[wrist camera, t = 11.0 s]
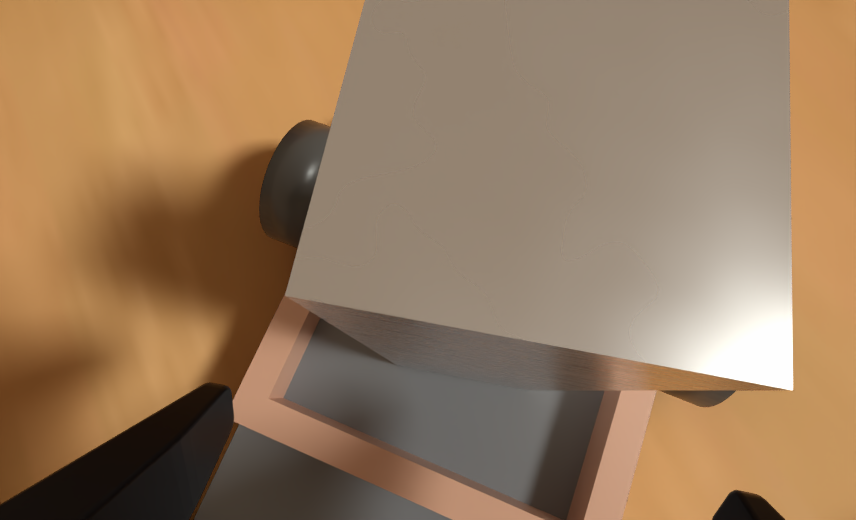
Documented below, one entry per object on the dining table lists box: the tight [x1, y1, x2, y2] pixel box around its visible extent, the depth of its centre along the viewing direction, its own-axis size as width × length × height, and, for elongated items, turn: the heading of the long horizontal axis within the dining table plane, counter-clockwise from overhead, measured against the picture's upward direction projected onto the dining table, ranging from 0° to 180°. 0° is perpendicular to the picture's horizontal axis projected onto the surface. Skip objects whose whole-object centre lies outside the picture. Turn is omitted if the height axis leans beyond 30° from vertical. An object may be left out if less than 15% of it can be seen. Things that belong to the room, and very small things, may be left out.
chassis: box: [194, 120, 736, 520], centre depth 14 cm, size 22×15×4 cm
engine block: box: [285, 0, 793, 391], centre depth 11 cm, size 4×4×12 cm
